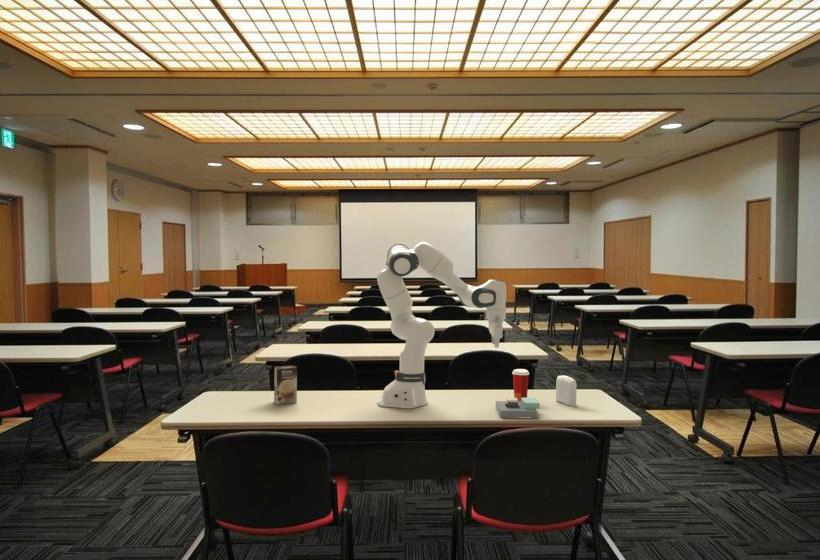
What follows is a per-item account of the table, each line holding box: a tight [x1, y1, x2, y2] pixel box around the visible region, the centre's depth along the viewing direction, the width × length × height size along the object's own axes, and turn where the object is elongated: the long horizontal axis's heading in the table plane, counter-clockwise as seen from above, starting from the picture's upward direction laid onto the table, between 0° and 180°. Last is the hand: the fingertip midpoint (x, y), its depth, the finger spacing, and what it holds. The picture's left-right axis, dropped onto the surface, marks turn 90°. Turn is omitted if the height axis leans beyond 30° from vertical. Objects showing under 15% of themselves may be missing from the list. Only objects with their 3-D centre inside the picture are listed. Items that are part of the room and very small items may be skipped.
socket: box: [495, 400, 538, 419], centre depth 211 cm, size 15×14×3 cm
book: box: [555, 375, 578, 407], centre depth 226 cm, size 10×4×12 cm, turn 25°
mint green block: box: [521, 397, 540, 410], centre depth 210 cm, size 6×8×2 cm
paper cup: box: [511, 368, 530, 401], centre depth 229 cm, size 8×8×14 cm
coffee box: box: [273, 365, 298, 406], centre depth 225 cm, size 9×6×16 cm
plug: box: [506, 397, 518, 408], centre depth 211 cm, size 4×4×6 cm
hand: (495, 345), depth 225 cm, fingers open, 8 cm apart
